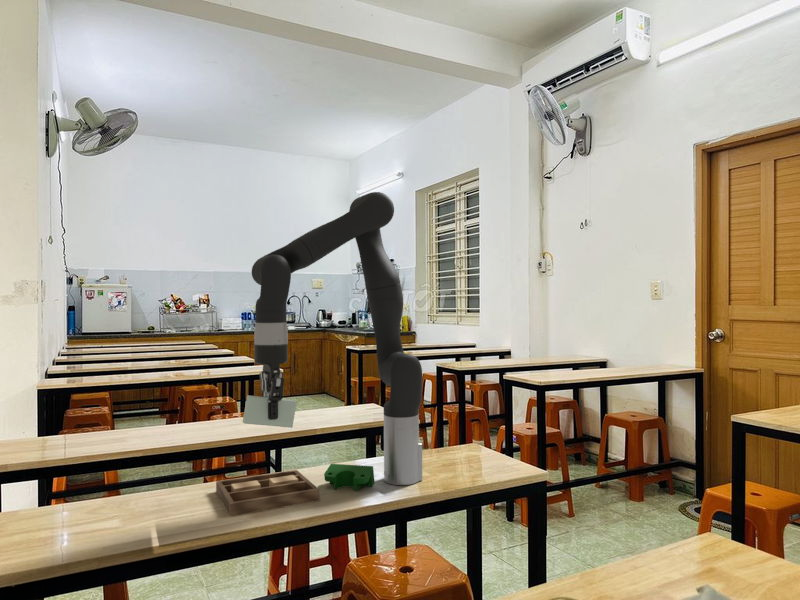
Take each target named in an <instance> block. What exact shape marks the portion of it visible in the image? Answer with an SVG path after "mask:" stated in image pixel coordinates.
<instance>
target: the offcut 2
mask: <svg viewBox="0 0 800 600" xmlns="http://www.w3.org/2000/svg"><path fill="white" fill-rule="evenodd" d="M295 482H298V479H297V478H296V477H295V476H294V475H289V476H283V477H276V478H269V486H275V485H282V484H288V483H295Z"/></svg>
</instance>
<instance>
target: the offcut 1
mask: <svg viewBox="0 0 800 600" xmlns="http://www.w3.org/2000/svg"><path fill="white" fill-rule="evenodd" d="M256 488H261V485H260V483H259V482H258V481H257V480H255V481H249V482H242V483H235V484H231V492H236V491H243V490H249V489H256Z"/></svg>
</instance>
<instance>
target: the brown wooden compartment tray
mask: <svg viewBox="0 0 800 600" xmlns="http://www.w3.org/2000/svg"><path fill="white" fill-rule="evenodd" d="M289 475H294V476H295V477H296V478H297V479H298V482H295V483H288V484H282V485H275V486H269V478H276V477H283V476H289ZM255 480H257V481H258V482H259V483H260V485H261V488H256V489H249V490H243V491H236V492H231V484H235V483H242V482H249V481H255ZM215 484H216V485H215V491H216V494H217V496H218V497H219V499H220V501H221V503H222V505H223V506H224V508H225V510H226V511H227V514H228V515H229V517H231V516H232V517H233V516H238V515H243V514H250V513H254V512H260V511H267V510H272V509H273V510H274V509H278V508H279V509H280V508H284V507H290V506H295V505H301V504H302V505H303V504H307V503H313V502H319V501H320V489H319V488H318V487H317V486H316V485H315V484H313V483H312V482H311V481H310V480H309V479H308V478H307V477H306V476H305V475H303V474H302V473H301V472H299V470H297V469H293V470H291V469H290V470H286V471H285V470H284V471H279V472H272V473H265V474H258V475H251V476H243V477H237V478H229V479H223V480H222V479H221V480H216V481H215Z"/></svg>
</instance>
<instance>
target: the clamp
mask: <svg viewBox="0 0 800 600" xmlns="http://www.w3.org/2000/svg"><path fill="white" fill-rule="evenodd" d="M374 474H375V473H374V465H373V466H372V465H357V464H343V463H342V464H341V463H330V465H329V466H328V467H327V469H326V471H325V472H324V473H323V475H324V481H325V482H329V485H334V491H337V490H338V489H339V488H344V487H351V488H353V492H357V491H358V490H359V489H360V488H361V487H367V486H368V487H369V488H370V487H371V488H373V486H374V485H375V475H374Z"/></svg>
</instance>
